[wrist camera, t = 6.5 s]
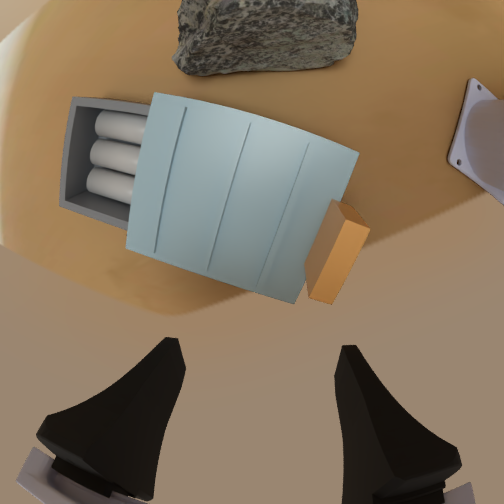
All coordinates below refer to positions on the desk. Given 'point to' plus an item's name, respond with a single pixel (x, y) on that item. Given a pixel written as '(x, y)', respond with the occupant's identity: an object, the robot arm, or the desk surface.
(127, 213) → the tub
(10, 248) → the desk surface
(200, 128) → the lid
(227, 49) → the stone
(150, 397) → the robot arm
